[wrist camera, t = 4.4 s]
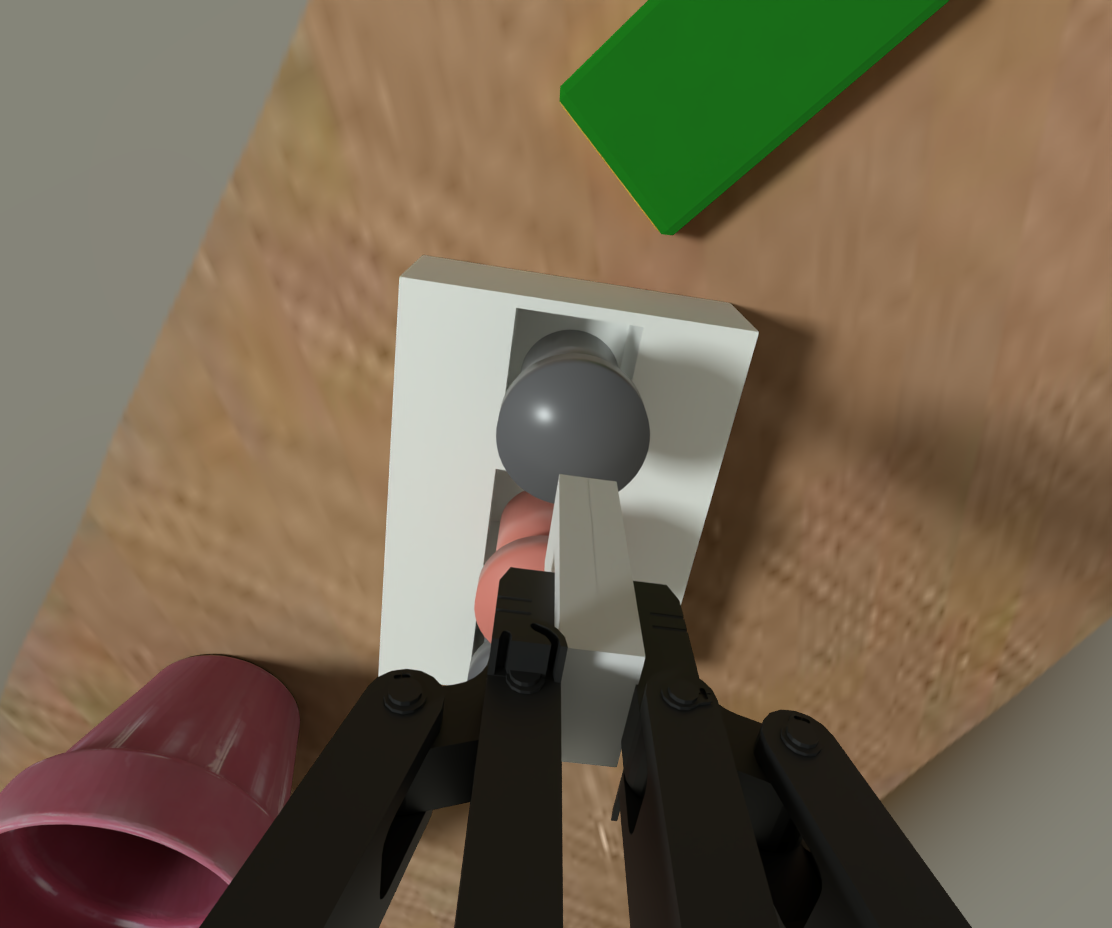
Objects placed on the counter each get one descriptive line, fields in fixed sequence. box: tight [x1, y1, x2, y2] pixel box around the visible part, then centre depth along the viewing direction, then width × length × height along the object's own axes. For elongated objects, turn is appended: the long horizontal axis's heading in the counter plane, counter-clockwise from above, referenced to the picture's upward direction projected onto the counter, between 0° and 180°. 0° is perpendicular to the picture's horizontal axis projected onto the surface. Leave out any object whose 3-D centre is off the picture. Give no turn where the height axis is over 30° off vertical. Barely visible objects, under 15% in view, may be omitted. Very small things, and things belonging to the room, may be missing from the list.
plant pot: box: [0, 655, 300, 928], centre depth 37 cm, size 14×14×13 cm
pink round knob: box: [474, 491, 554, 643], centre depth 28 cm, size 5×5×6 cm
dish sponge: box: [560, 0, 949, 235], centre depth 26 cm, size 7×14×2 cm, turn 131°
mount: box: [378, 255, 759, 685], centre depth 33 cm, size 14×20×5 cm
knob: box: [496, 330, 650, 504], centre depth 25 cm, size 5×5×6 cm
